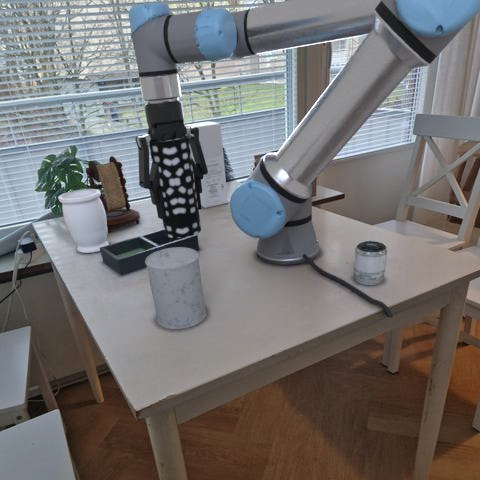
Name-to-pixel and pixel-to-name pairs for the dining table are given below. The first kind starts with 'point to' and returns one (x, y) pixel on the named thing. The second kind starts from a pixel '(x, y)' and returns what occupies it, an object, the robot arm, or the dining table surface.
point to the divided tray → (141, 250)
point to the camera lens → (370, 262)
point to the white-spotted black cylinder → (177, 186)
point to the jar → (85, 219)
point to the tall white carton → (212, 164)
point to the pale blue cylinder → (176, 287)
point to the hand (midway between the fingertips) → (180, 213)
